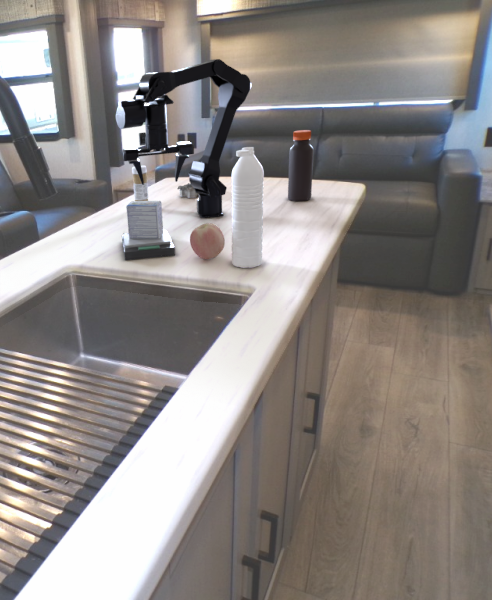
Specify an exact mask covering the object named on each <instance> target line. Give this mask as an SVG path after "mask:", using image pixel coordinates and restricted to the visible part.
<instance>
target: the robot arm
mask: <svg viewBox="0 0 492 600" xmlns="http://www.w3.org/2000/svg"><path fill="white" fill-rule="evenodd" d="M209 78H210V79H211V81H212V83H213V84H214V85H215V86H216V87H217V88H218V93H217V99H218V109H217V112H216V114H215V117H214V120H213V124H212V127H211V129H210V133H209V136H208V139H207V142H206V145H205V148H204V151H203V154H202V157H201V158H200V159H198V160H193V161H192V163H191V169H190V171H189V172H188V175H189V177H188V181H189V184H190V183H191V185H192V187H194V190H195V192H196V193H199V194H198V195H199V196H198V198H196V213H197V214H198V215H199V217H200V218H201V219H207V218H215V217H223V216H224V213H223V196H225V195H226V192H227V189H228V187H227V186H226V185H225V184H224V183H223V182H222V181H221V180H220V178H221V177H220V176H221V167H220V166H221V164H220V160H221V158H222V157H221V156H222V154H223V151H224V148H225V146H226V142H227V140H228V139H227V138H228V137H229V136H228V135H229V133H230V130H231V128H232V124H233V122H234V118H235V116H236V113H237V111H238V109H239V108H240V107H241V106H242V105H243V104H244V102H245V101H246V99H247V97H248V95H249V93H250V92H251V91H250V90H252V89H251V88H252V82H251V79H250V77H249V76H248V75H247V74H244V73H242V72H240V70H237V69H235V68H234V67H232V66H230V65H228V64H227V63H226V62H225V61H223V60H222V59H220V58H216V59H209V60H207V61H205V62H201V63H197V64H194V65H190V66H187V67H183V68H179V69H175V70H172V71H158V72H147V73H145V74H143V75H142V76H141V78H140V79H139V85H138V86H139V87H138V88H137V90H136V91H135V94H134V96H133V98H132V100H118V101H117V103H118V106H117V108H116V113H115V121H116V124H117V127H118V128H119V129H121V130H124V129H125V130H126V129H131V128H138V127H142V126H143V125H144V124H145V126H144V127H145V132H139V133H138V142H139V146H145V148H140V149H139V148H138V146H127V147H123V149H122V159H123V161H124V162H128V164H129V165H133V167H135V168H136V170H137V172H138V175H139V177H140V180H141V183H142V185H144V179H143V174H142V169H141V165H142V163H141V160H140V159H139V158H140V157H147V156H156V155H157V156H158V155H167V154H168V155H169V154H175V168H174V181H175V182H176V183H177V182H178V180H179V177H180V173H181V172H182V171H181V170H182V168H183V166H184V163H185V161H186V159H189V158H190V155H194V154H195V145H194V144H193V143H192V142H190V141H189V140H188V141H178V142H177V141H176V144H175V145H169V137H168V136H169V135H168V118H167V117H168V115H167V105H173V104H174V100H172V99H171V98H170V97H169V96H168V94H169V93H171V92H172V91H174V90H175V89H176V88H178V87H180V86H184V85H187V84H191V83H194V82H197V81H200V80H204V79H209ZM159 97H160V98H159ZM145 103H146V104H145Z"/></svg>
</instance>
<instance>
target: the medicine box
mask: <svg viewBox="0 0 492 600" xmlns="http://www.w3.org/2000/svg"><path fill="white" fill-rule="evenodd" d="M125 208H126V217H127V218H126V219H127V229H128V233H129V239H160V237H161V236H162V235H163V229H164V222H163V208H162V201H161V200H148V201H135V200H132V201H130V202H129V203H128V204H126V206H125Z"/></svg>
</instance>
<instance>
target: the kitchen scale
mask: <svg viewBox="0 0 492 600" xmlns="http://www.w3.org/2000/svg"><path fill="white" fill-rule="evenodd" d="M121 244H122V251H123V257H124V261H133V260H141V259H142V260H143V259H155V258H162V257H173V256H176V248H175V245H174V243H173V240H172V237H171V236H170V234H169V232H168V230H166V228H165V229H164V228H163V235H162V236H161V237H160V239H129V232H124V233H123V235H121Z"/></svg>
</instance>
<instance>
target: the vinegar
mask: <svg viewBox="0 0 492 600" xmlns="http://www.w3.org/2000/svg"><path fill="white" fill-rule="evenodd" d="M292 135H293V136H292V142H293V145H292V146H291V147H290V148H289V152H288V153H289V154H288V157H289V158H288V179H287V180H288V181H287V182H288V183H287V184H288V185H287V186H288V187H287V199H288V200H289V201H291V202H292V201H293V202H305V201H309V200H311V198H312V191H313V190H312V189H313V188H312V186H313V171H314V170H313V167H314V151H315V149H314V147H313V146H312V145H311V143H310V141H311V139H312V130H310V129H300V130H295V131H293V134H292Z"/></svg>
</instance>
